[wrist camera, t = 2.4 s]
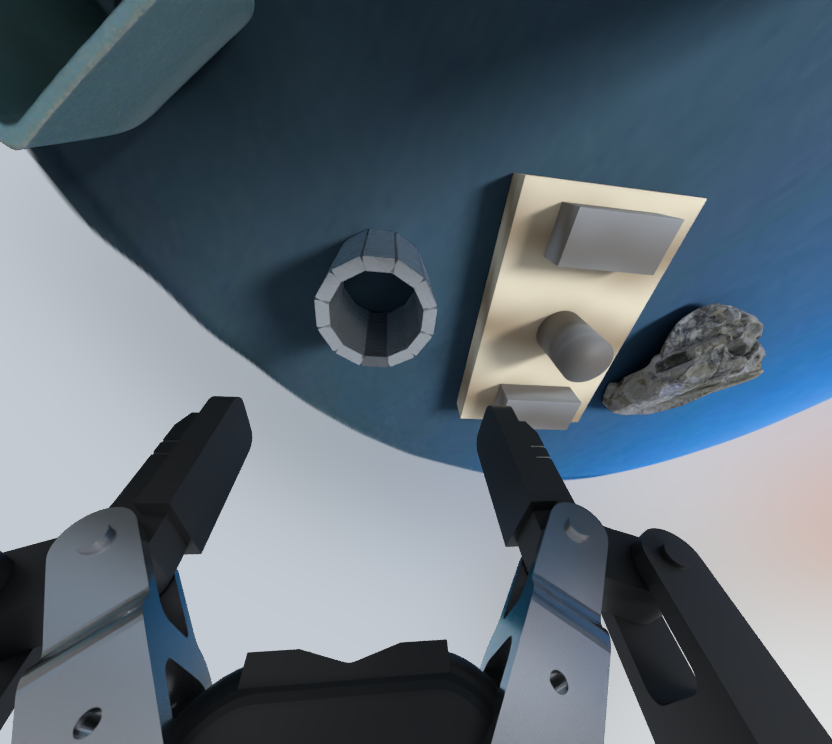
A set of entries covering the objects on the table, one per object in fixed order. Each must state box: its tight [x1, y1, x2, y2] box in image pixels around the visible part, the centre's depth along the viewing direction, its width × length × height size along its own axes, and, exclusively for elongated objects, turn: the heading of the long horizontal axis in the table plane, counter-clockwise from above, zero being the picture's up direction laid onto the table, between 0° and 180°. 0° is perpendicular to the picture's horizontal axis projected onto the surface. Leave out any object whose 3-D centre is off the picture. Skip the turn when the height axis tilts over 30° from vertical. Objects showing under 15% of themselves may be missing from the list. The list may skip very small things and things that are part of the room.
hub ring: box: [314, 229, 437, 367], centre depth 19 cm, size 6×6×6 cm
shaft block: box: [457, 173, 707, 430], centre depth 21 cm, size 18×11×6 cm, turn 174°
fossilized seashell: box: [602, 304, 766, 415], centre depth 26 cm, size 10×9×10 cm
